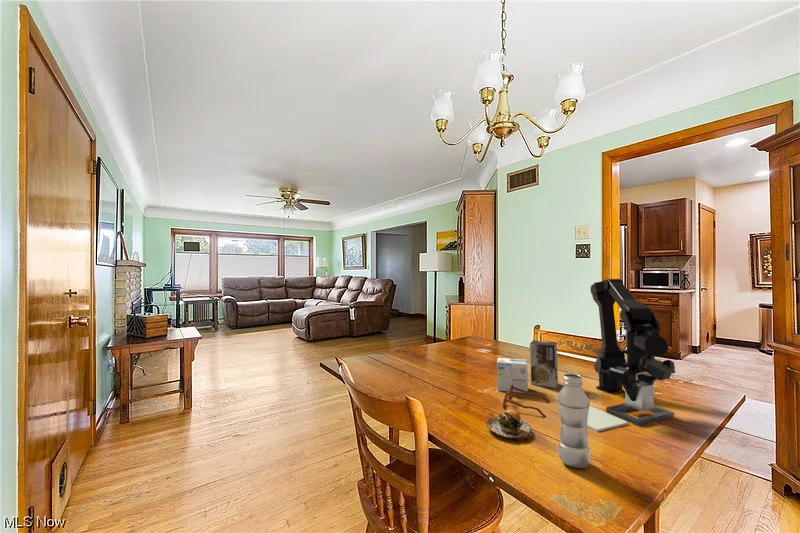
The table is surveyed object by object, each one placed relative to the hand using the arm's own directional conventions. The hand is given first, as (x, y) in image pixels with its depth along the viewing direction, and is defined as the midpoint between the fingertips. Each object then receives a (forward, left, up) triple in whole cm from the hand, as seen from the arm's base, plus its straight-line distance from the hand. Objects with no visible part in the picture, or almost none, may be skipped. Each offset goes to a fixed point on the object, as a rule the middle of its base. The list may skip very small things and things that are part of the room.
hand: (639, 399), depth 100 cm
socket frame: (0, 0, -5) cm, 5 cm away
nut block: (0, 0, -2) cm, 2 cm away
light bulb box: (-32, -21, -5) cm, 39 cm away
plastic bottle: (+12, -39, -5) cm, 41 cm away
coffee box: (-32, -6, -5) cm, 33 cm away
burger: (-6, -43, -5) cm, 44 cm away
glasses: (-18, -26, -5) cm, 32 cm away
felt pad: (-3, -15, -5) cm, 16 cm away
